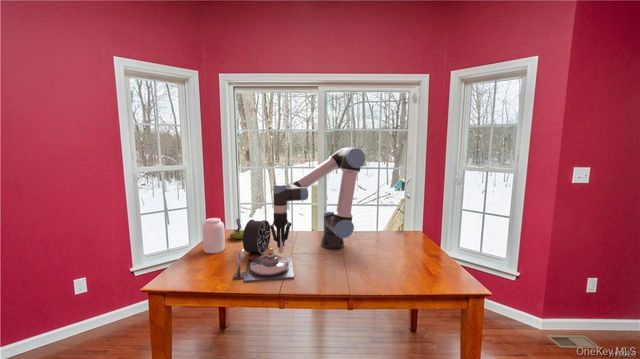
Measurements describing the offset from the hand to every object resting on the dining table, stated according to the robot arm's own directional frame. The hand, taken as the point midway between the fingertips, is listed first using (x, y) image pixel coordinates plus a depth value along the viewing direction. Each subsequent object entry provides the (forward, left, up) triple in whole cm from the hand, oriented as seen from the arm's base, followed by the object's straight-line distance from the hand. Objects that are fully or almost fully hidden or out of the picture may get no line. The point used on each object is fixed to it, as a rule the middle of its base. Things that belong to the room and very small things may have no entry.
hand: (280, 252), depth 152 cm
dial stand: (+21, +16, -5) cm, 27 cm away
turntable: (+6, +11, -3) cm, 13 cm away
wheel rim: (+14, -15, -5) cm, 21 cm away
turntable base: (+6, +10, -5) cm, 13 cm away
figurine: (+29, -42, -5) cm, 51 cm away
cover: (+5, +10, -1) cm, 12 cm away
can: (+41, -22, -5) cm, 47 cm away
